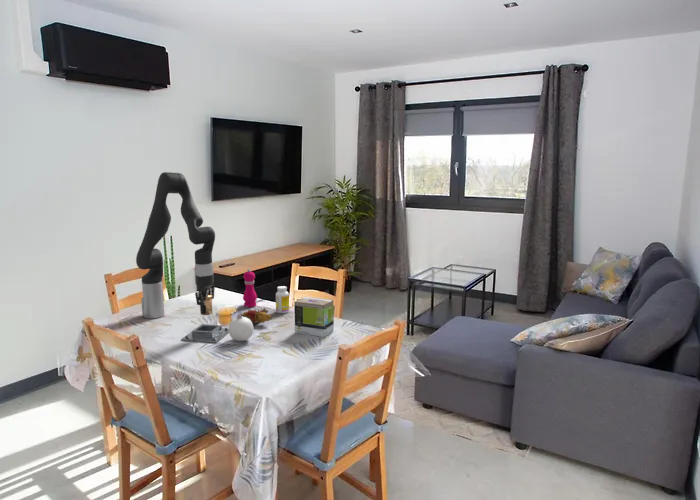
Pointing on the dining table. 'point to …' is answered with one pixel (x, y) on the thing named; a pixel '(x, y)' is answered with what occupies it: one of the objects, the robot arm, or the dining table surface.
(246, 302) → the pepper mill
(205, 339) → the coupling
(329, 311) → the tea box
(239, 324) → the ornament
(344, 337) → the dining table surface
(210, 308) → the round knob
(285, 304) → the supplement bottle
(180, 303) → the dining table surface
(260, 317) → the scarecrow
